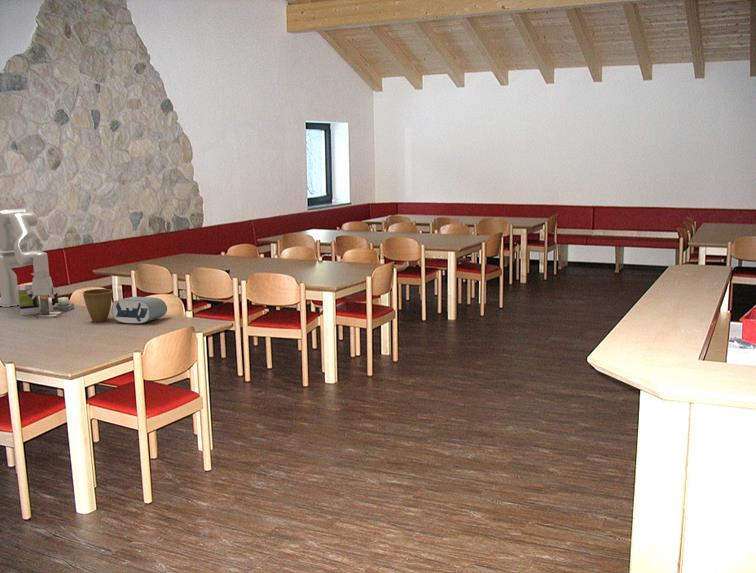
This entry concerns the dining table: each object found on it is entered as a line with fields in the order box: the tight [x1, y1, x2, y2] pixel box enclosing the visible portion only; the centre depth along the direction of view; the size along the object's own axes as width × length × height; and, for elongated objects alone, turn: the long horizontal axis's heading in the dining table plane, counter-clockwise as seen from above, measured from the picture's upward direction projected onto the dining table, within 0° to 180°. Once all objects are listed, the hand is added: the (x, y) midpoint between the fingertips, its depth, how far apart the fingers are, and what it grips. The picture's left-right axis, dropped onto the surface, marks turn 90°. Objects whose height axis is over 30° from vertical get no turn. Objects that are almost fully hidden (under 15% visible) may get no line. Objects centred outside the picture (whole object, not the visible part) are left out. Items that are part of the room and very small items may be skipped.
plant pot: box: [82, 288, 113, 323], centre depth 406 cm, size 15×15×16 cm
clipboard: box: [35, 309, 65, 319], centre depth 423 cm, size 14×11×1 cm
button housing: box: [52, 302, 75, 312], centre depth 436 cm, size 9×9×3 cm
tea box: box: [18, 284, 41, 316], centre depth 431 cm, size 15×10×15 cm, turn 25°
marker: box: [39, 295, 50, 315], centre depth 420 cm, size 4×4×11 cm
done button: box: [57, 296, 69, 306], centre depth 435 cm, size 5×5×4 cm
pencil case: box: [111, 296, 168, 324], centre depth 405 cm, size 22×19×13 cm
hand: (44, 305), depth 420 cm, fingers open, 9 cm apart
